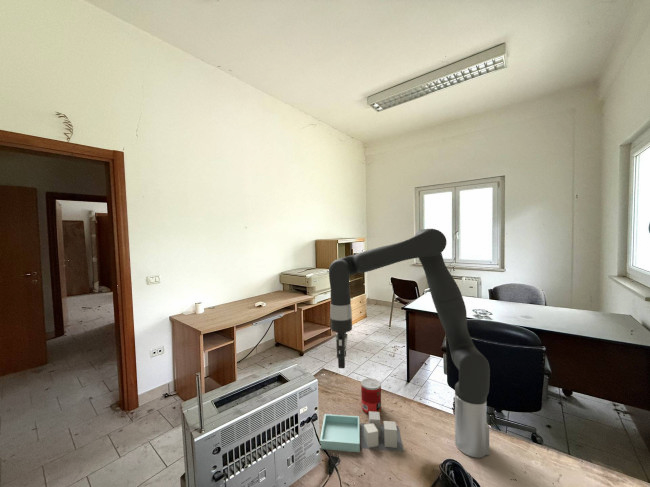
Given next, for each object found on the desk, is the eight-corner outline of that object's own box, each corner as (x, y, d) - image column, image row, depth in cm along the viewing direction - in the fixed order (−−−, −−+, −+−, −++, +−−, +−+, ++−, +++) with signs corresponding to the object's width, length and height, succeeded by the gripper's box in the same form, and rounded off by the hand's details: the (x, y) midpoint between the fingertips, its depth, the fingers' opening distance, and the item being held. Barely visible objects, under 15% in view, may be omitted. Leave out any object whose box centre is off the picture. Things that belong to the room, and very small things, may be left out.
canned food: (381, 416, 103) (381, 389, 103) (360, 414, 105) (360, 387, 104) (381, 404, 111) (380, 378, 110) (362, 402, 112) (361, 377, 112)
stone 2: (373, 436, 92) (373, 423, 92) (378, 445, 88) (378, 431, 88) (363, 438, 91) (363, 424, 91) (368, 447, 88) (368, 433, 87)
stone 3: (395, 438, 91) (395, 421, 91) (397, 447, 87) (396, 430, 87) (383, 437, 92) (383, 420, 92) (384, 446, 88) (384, 429, 88)
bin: (359, 424, 99) (359, 416, 99) (359, 453, 86) (359, 443, 86) (324, 422, 101) (324, 414, 100) (319, 449, 87) (319, 440, 87)
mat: (398, 426, 97) (398, 425, 97) (404, 453, 86) (404, 451, 86) (360, 424, 99) (360, 423, 99) (360, 449, 87) (360, 448, 87)
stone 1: (379, 428, 96) (379, 412, 96) (380, 436, 92) (380, 419, 92) (368, 427, 97) (368, 411, 97) (369, 435, 93) (369, 419, 93)
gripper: (351, 322, 84) (352, 372, 85) (352, 310, 98) (353, 353, 99) (328, 322, 85) (329, 371, 86) (332, 310, 99) (333, 352, 100)
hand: (342, 361), depth 92 cm, fingers open, 8 cm apart
